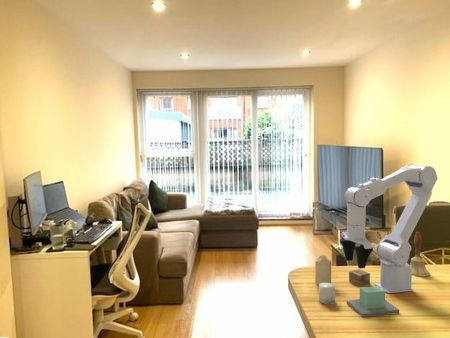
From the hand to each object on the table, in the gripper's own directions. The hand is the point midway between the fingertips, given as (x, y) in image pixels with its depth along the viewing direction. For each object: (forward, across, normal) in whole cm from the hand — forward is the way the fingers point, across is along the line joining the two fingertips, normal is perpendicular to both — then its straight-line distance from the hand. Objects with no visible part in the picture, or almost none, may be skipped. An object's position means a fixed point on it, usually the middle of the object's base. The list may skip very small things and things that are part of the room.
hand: (355, 263), depth 122 cm
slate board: (+10, +11, -1) cm, 15 cm away
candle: (+10, -10, -6) cm, 16 cm away
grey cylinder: (+10, +3, -11) cm, 16 cm away
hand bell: (+10, -12, +34) cm, 37 cm away
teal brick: (+9, +11, -1) cm, 14 cm away
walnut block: (+10, -8, +7) cm, 15 cm away
